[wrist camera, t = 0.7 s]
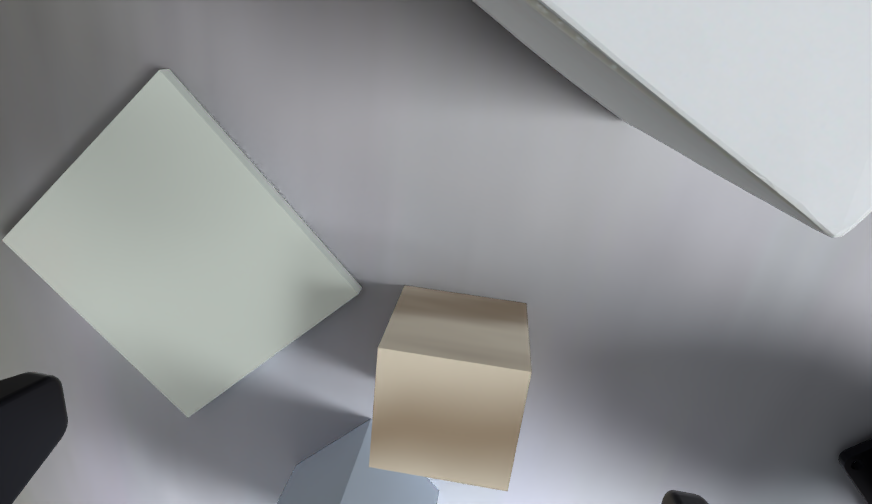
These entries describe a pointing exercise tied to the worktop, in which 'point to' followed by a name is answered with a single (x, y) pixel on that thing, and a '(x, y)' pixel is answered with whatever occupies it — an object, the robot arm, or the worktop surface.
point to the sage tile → (180, 249)
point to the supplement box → (729, 87)
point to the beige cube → (451, 387)
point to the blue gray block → (353, 477)
